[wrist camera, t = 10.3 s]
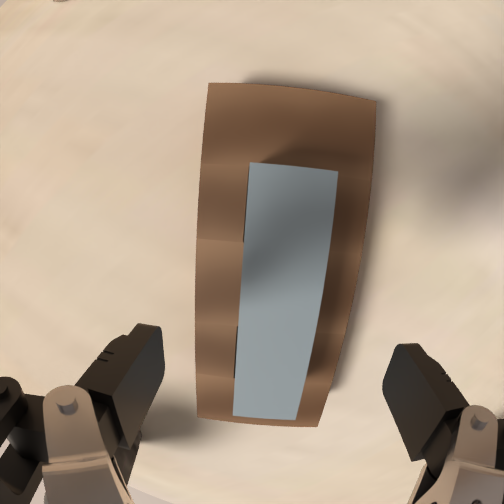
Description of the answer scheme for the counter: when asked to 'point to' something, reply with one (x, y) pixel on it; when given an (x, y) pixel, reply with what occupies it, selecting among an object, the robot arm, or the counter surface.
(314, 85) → the counter surface
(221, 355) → the brown wooden slab
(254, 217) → the grey bridge block
